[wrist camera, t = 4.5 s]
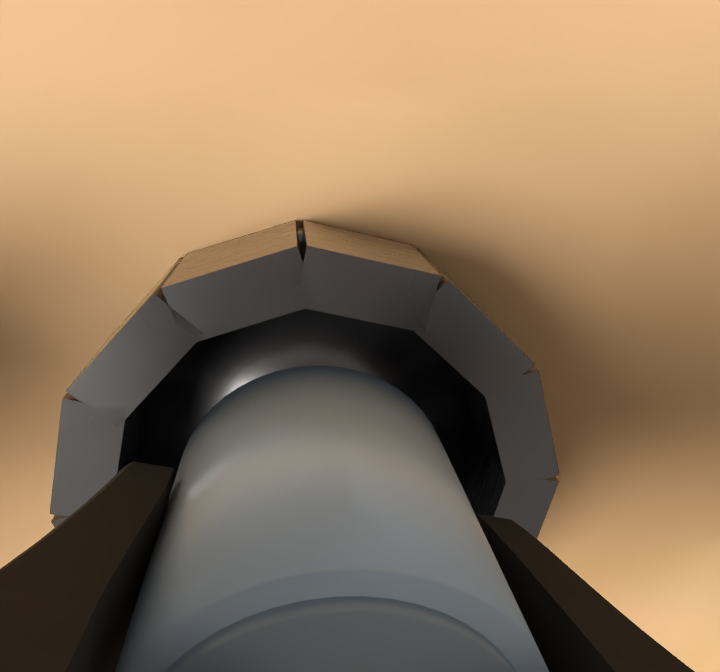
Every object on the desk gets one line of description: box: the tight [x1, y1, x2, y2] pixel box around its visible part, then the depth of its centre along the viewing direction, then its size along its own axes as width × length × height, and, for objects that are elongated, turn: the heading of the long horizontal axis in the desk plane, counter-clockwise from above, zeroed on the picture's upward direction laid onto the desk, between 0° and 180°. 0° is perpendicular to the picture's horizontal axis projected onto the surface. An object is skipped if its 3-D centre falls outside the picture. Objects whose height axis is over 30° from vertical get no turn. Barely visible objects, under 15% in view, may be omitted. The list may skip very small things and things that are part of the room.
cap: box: [115, 366, 549, 672], centre depth 9 cm, size 5×5×5 cm
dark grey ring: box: [50, 220, 559, 539], centre depth 12 cm, size 9×9×3 cm
